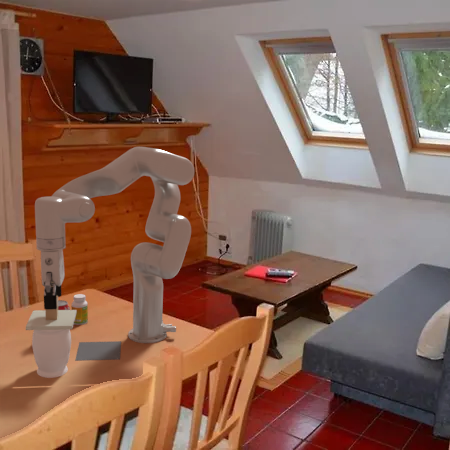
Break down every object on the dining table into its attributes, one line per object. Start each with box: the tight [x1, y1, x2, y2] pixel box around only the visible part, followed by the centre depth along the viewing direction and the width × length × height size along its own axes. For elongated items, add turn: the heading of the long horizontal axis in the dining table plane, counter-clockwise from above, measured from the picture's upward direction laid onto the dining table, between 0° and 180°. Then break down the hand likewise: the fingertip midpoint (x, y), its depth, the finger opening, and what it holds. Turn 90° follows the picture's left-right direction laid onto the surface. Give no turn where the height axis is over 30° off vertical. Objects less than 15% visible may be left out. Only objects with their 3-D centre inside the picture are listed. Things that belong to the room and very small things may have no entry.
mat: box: [75, 340, 122, 362], centre depth 172 cm, size 13×13×1 cm
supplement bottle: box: [71, 293, 89, 326], centre depth 193 cm, size 5×5×10 cm
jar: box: [31, 329, 72, 379], centre depth 157 cm, size 11×10×15 cm
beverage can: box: [58, 299, 71, 310], centre depth 180 cm, size 6×6×12 cm
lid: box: [25, 296, 77, 331], centre depth 155 cm, size 12×12×7 cm
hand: (53, 302), depth 155 cm, fingers open, 9 cm apart
